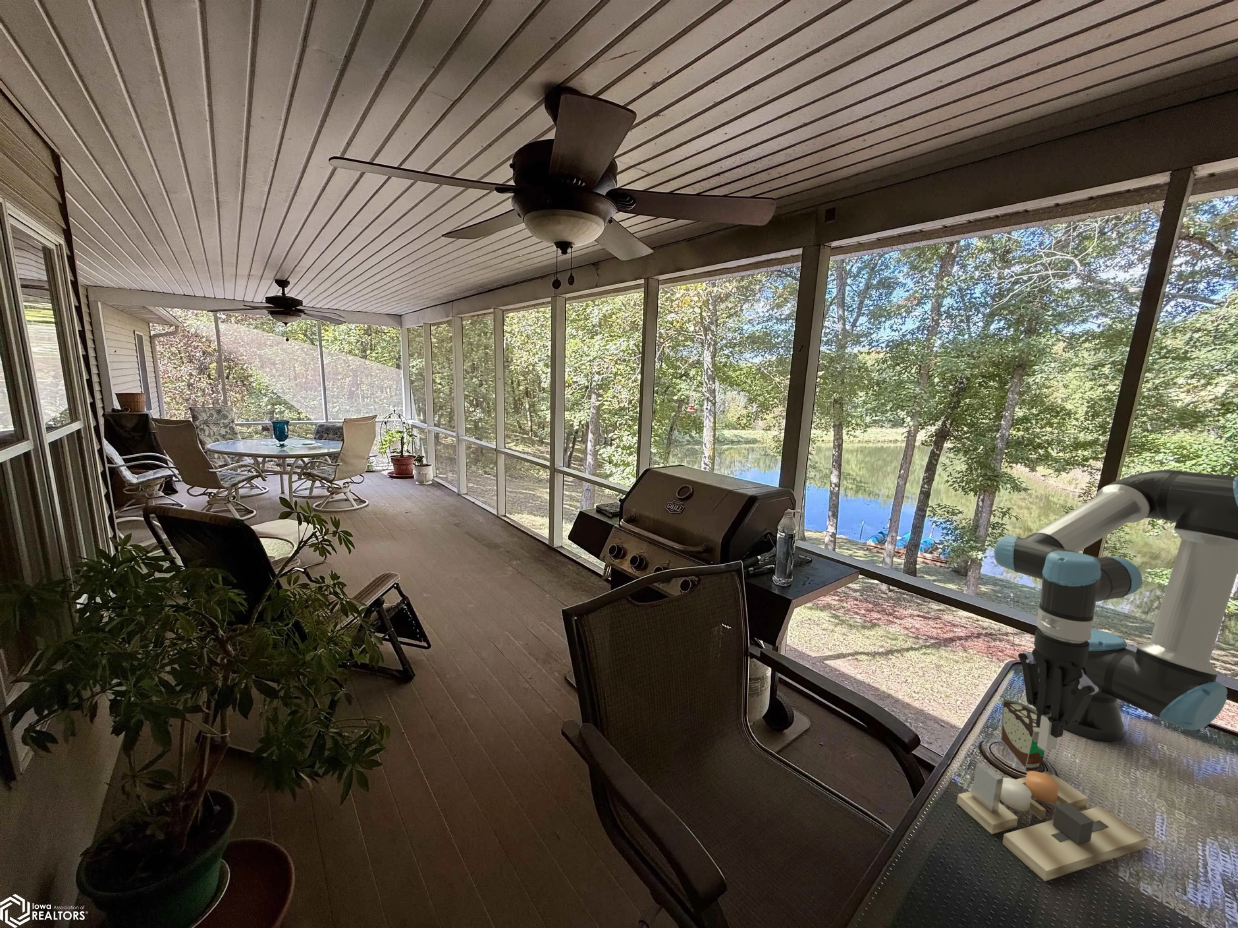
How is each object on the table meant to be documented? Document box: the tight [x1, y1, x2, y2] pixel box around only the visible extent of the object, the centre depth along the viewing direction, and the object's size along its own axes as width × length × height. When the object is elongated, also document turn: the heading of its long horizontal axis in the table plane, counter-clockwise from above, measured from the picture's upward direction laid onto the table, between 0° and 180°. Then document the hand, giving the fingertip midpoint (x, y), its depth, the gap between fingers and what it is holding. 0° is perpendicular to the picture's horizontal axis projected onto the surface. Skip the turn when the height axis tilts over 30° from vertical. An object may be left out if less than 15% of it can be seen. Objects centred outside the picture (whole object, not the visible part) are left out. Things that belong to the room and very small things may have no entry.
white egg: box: [1000, 777, 1032, 812], centre depth 94 cm, size 5×5×3 cm
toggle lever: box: [971, 762, 1004, 813], centre depth 93 cm, size 2×4×7 cm, turn 14°
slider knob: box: [1053, 803, 1094, 845], centre depth 87 cm, size 3×4×4 cm
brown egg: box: [1025, 770, 1059, 804], centre depth 95 cm, size 5×5×3 cm
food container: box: [1000, 698, 1046, 771], centre depth 107 cm, size 12×6×10 cm, turn 168°
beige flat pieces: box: [956, 770, 1148, 882], centre depth 91 cm, size 24×16×2 cm, turn 104°
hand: (1046, 746), depth 94 cm, fingers closed
